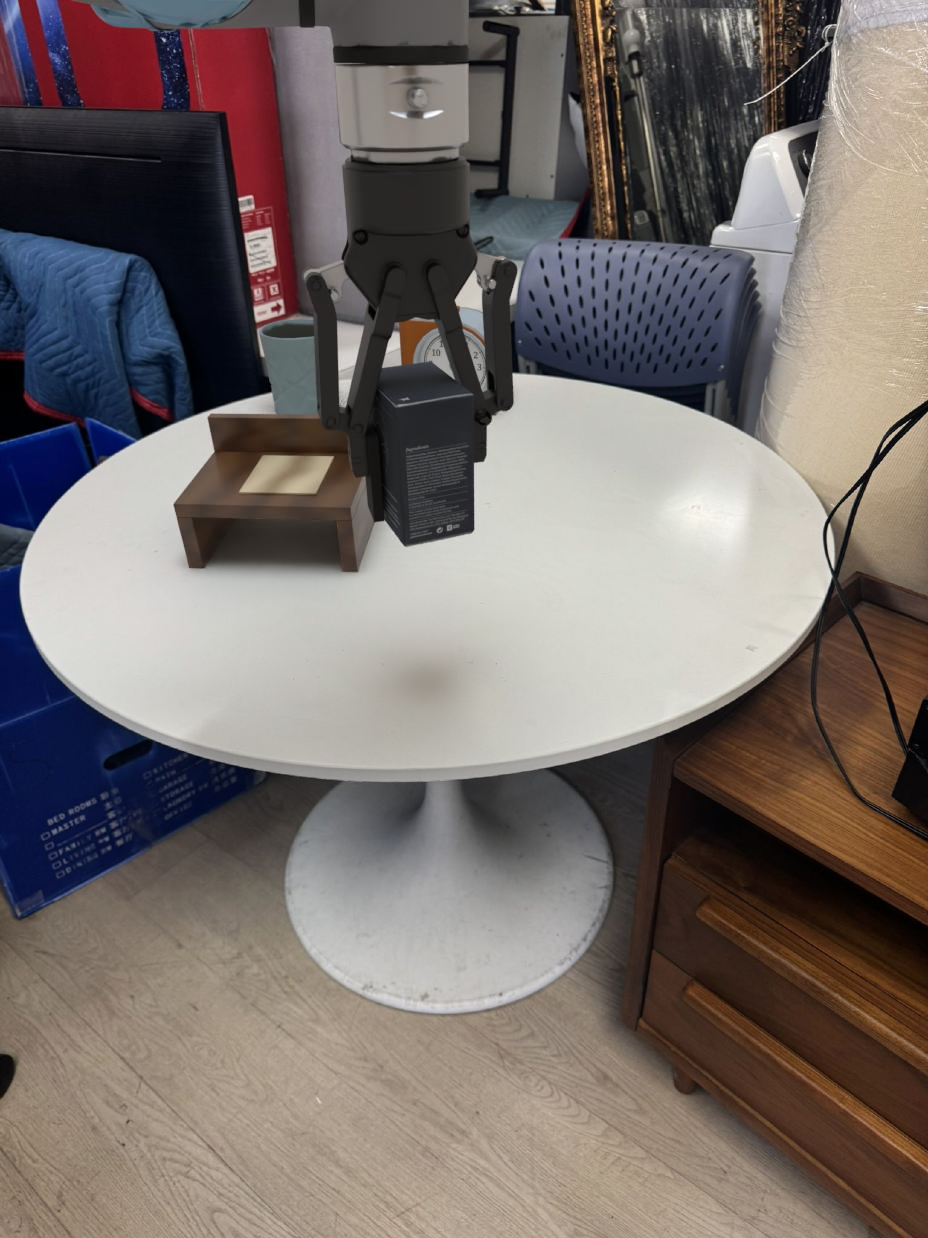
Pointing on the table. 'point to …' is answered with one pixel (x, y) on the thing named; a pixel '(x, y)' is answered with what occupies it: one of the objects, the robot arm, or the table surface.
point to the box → (425, 452)
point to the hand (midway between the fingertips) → (420, 506)
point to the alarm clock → (426, 343)
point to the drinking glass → (291, 365)
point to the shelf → (274, 483)
